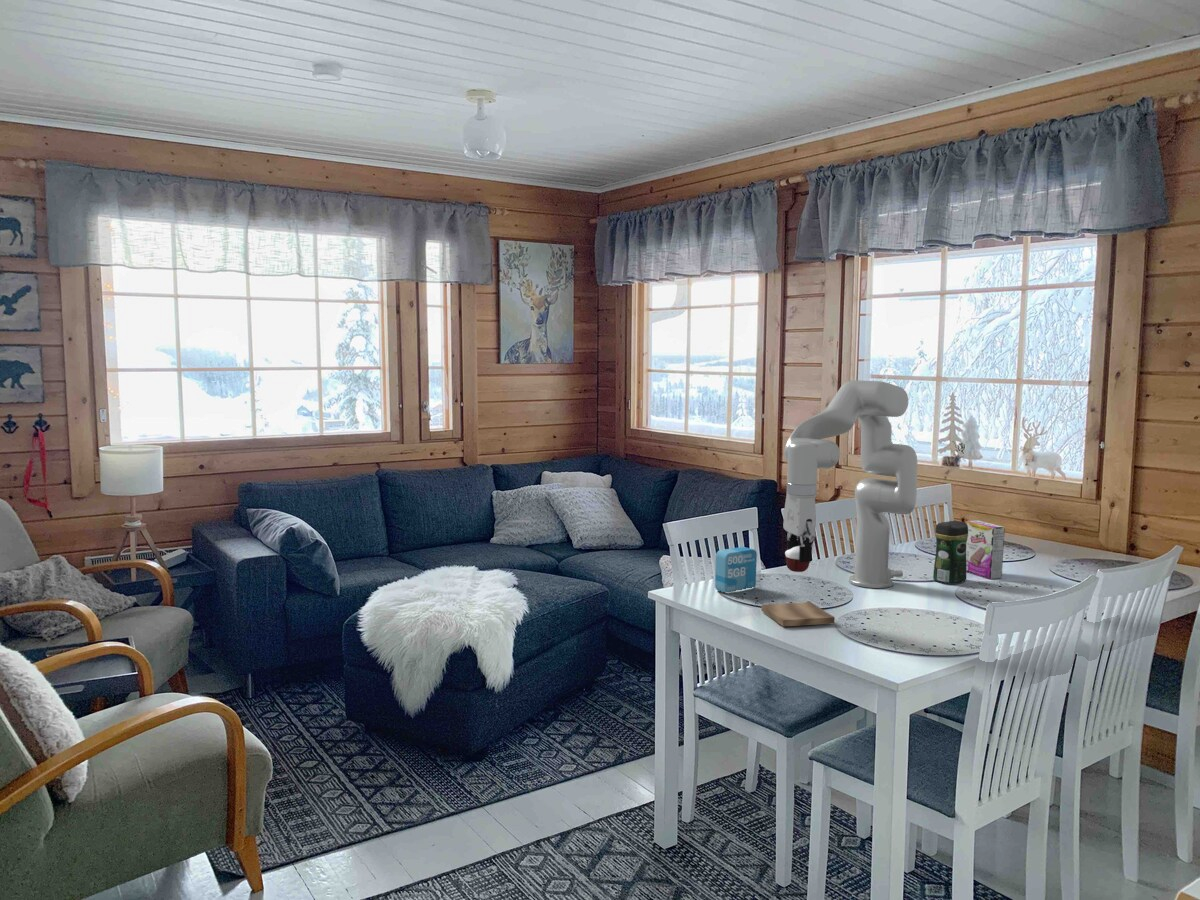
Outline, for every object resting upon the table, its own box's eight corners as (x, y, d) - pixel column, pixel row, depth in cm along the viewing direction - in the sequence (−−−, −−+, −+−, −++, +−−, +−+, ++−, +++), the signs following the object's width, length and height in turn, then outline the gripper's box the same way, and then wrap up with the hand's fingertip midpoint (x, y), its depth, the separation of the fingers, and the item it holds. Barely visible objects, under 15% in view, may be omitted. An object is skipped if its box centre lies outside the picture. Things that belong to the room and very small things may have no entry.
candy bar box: (963, 571, 286) (965, 520, 285) (975, 570, 288) (978, 519, 286) (990, 580, 276) (993, 527, 274) (1002, 578, 278) (1005, 526, 276)
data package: (724, 595, 256) (725, 553, 255) (714, 591, 260) (715, 550, 259) (756, 589, 263) (757, 548, 262) (745, 585, 267) (746, 545, 265)
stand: (810, 609, 243) (810, 602, 243) (834, 624, 229) (834, 617, 229) (761, 612, 240) (761, 604, 240) (782, 628, 226) (783, 620, 226)
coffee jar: (947, 576, 280) (950, 517, 278) (970, 582, 273) (973, 521, 271) (927, 580, 275) (931, 520, 273) (950, 586, 268) (953, 525, 266)
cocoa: (797, 576, 228) (799, 530, 226) (777, 570, 233) (779, 525, 231) (819, 569, 235) (821, 524, 233) (799, 563, 239) (801, 519, 237)
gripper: (774, 485, 239) (772, 551, 241) (802, 495, 222) (799, 567, 224) (800, 484, 240) (798, 550, 242) (830, 495, 223) (827, 565, 225)
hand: (799, 557), depth 233 cm, fingers closed on cocoa, 6 cm apart
